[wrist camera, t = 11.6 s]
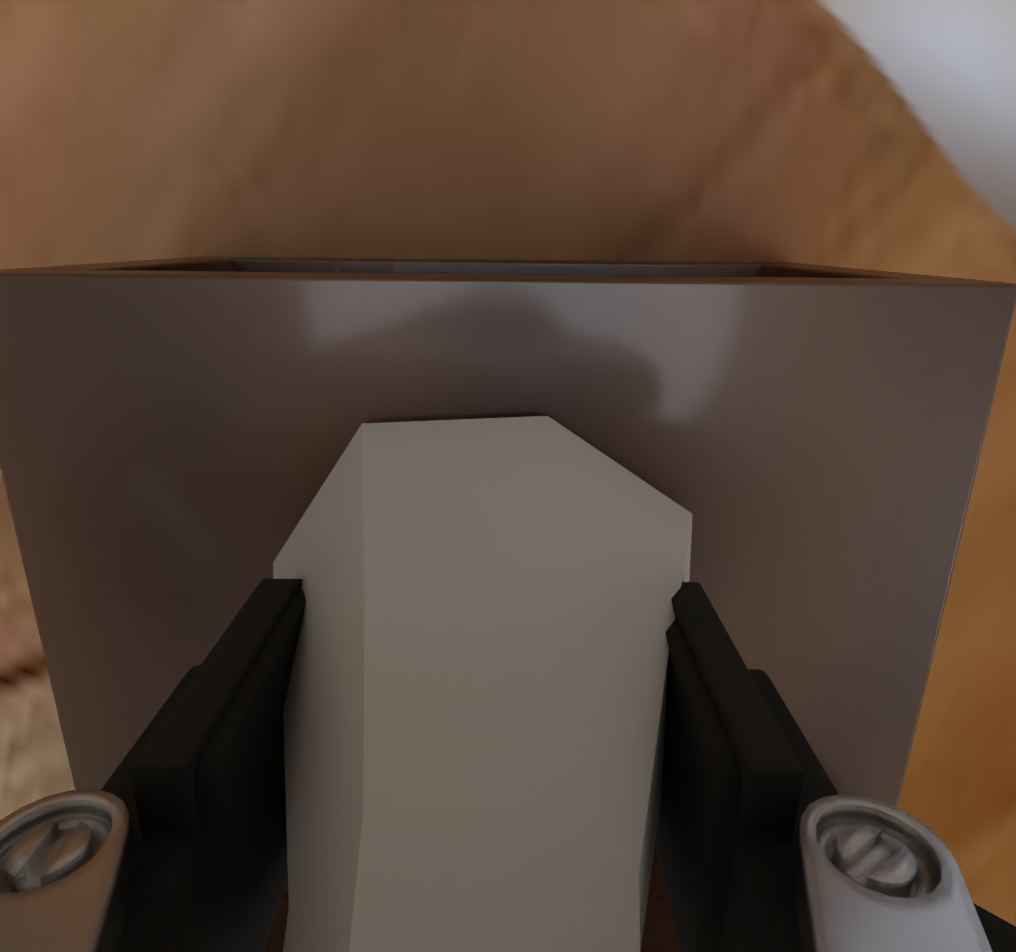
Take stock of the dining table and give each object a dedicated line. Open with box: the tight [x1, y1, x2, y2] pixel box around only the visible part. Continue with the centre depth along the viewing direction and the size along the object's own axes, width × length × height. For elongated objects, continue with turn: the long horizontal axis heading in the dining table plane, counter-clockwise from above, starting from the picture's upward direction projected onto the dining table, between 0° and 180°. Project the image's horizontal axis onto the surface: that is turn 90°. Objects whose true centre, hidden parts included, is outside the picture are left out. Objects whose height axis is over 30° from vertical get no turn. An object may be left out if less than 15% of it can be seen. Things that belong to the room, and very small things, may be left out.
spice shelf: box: [0, 257, 1016, 952], centre depth 15 cm, size 16×12×12 cm
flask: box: [273, 416, 692, 952], centre depth 7 cm, size 7×7×10 cm
